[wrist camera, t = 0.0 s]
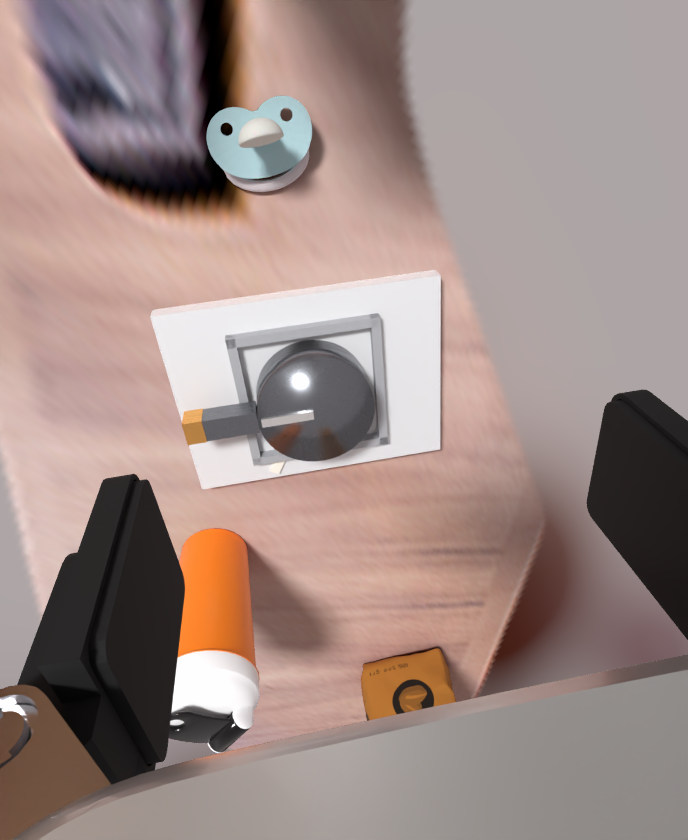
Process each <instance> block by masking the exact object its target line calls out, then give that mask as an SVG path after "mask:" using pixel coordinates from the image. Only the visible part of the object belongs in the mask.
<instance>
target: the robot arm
mask: <svg viewBox="0 0 688 840" xmlns="http://www.w3.org/2000/svg"><path fill="white" fill-rule="evenodd" d="M587 508H588V511H589V514H590V516H591V517H592V519H593V520H594V521H595V523H596V524H597V525H598V527H599V528H600V529H601V530H602V532H603V533H604V534H605V535H606V537H607V538H608V539H609V541H610V542H611V543H612V544H613V545H614V547H615V548H616V549H617V551H618V552H619V553H620V554H621V556H622V557H623V558H624V559H625V561H626V562H627V563H628V565H629V566H630V567H631V568H632V570H633V571H634V572H635V574H636V575H637V576H638V577H639V579H640V580H641V581H642V582H643V584H644V585H645V586H646V588H647V589H648V590H649V591H650V593H651V594H652V595H653V596H654V598H655V599H656V600H657V601H658V603H659V604H660V605H661V606H662V608H663V609H664V610H665V612H666V613H667V614H668V615H669V617H670V618H671V619H672V620H673V622H674V623H675V624H676V626H677V627H678V628H679V629H680V631H681V632H682V633H683V634H684V636H685V637H686V638H687V640H688V421H687V420H686V419H684V418H683V417H682V416H680V415H679V414H678V413H677V412H675V411H674V410H673V409H671V408H670V407H669V406H667V405H666V404H665V403H664V402H662V401H661V400H660V399H658V398H657V397H656V396H655V395H653V394H652V393H651V392H649V391H647V390H638V391H632V392H625V393H619V394H617V395H615V396H614V397H613V398H612V401H611V402H609V403H607V404H606V406H605V409H604V413H603V419H602V424H601V429H600V434H599V440H598V445H597V450H596V455H595V460H594V466H593V471H592V476H591V481H590V487H589V492H588V497H587ZM184 597H185V581H184V576H183V572H182V570H181V567H180V564H179V561H178V559H177V556H176V553H175V550H174V548H173V545H172V542H171V539H170V537H169V534H168V531H167V528H166V526H165V523H164V520H163V518H162V515H161V512H160V509H159V507H158V504H157V501H156V498H155V496H154V493H153V490H152V487H151V485H150V483H149V481H148V480H139V478H138V476H137V475H135V474H131V475H125V476H119V477H113V478H107V479H104V480H103V482H102V484H101V487H100V490H99V493H98V495H97V498H96V501H95V504H94V507H93V510H92V513H91V515H90V518H89V521H88V524H87V527H86V530H85V533H84V536H83V538H82V541H81V544H80V547H79V550H78V553H72V554H69V555H68V556H67V557H66V558H65V560H64V562H63V564H62V566H61V569H60V571H59V574H58V577H57V579H56V582H55V585H54V587H53V590H52V593H51V595H50V598H49V601H48V604H47V606H46V609H45V612H44V614H43V617H42V620H41V622H40V625H39V628H38V630H37V633H36V636H35V638H34V641H33V644H32V647H31V649H30V652H29V655H28V657H27V660H26V663H25V665H24V668H23V671H22V673H21V676H20V679H19V682H18V684H17V685H15V686H8V687H5V688H3V689H0V840H688V655H683V656H678V657H673V658H669V659H664V660H658V661H653V662H649V663H643V664H638V665H634V666H629V667H624V668H619V669H614V670H609V671H604V672H600V673H594V674H589V675H585V676H580V677H575V678H570V679H565V680H560V681H555V682H550V683H545V684H541V685H536V686H531V687H527V688H521V689H516V690H512V691H507V692H502V693H497V694H493V695H488V696H483V697H478V698H473V699H468V700H464V701H459V702H454V703H449V704H444V705H440V706H435V707H430V708H425V709H421V710H416V711H411V712H406V713H402V714H397V715H392V716H388V717H383V718H378V719H374V720H369V721H364V722H360V723H355V724H350V725H345V726H341V727H336V728H331V729H327V730H322V731H317V732H313V733H308V734H303V735H299V736H294V737H289V738H285V739H280V740H276V741H272V742H267V743H263V744H259V745H254V746H250V747H246V748H241V749H237V750H233V751H228V752H224V753H220V754H215V755H211V756H207V757H202V758H198V759H194V760H190V761H186V762H182V763H179V764H175V765H172V766H168V767H165V768H161V769H157V770H155V765H156V763H158V762H163V761H164V760H165V757H166V753H167V747H168V738H169V729H170V720H171V712H172V703H173V694H174V685H175V676H176V668H177V659H178V650H179V641H180V632H181V624H182V615H183V606H184Z"/></svg>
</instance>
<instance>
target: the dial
mask: <svg viewBox="0 0 688 840" xmlns="http://www.w3.org/2000/svg"><path fill="white" fill-rule="evenodd" d="M256 397H257V405H256V401H252V402H246V403H239V404H233V405H227V406H220V407H214V408H208V409H203V408H202V409H196V410H190V411H184V414H183V420H182V427H183V430H184V434H185V437H186V440H187V444H188V445H193V444H199V443H205V442H207V441H212V440H219V439H225V438H231V437H237V436H243V435H249V434H256V433H260V430H261V432H262V435H263V436H264V438H265V439H266V441H267V442H268V443H269V444H270V445H271V446H272V447H273V448H274V449H275V450H277V451H278V452H280V453H281V454H283V455H285V456H287V457H290V458H293V459H296V460H301V461H324V460H328V459H332V458H335V457H338V456H340V455H342V454H345V453H346V452H348V451H350V450H351V449H352V448H354V447H355V446H356V445H357V444H358V443H359V442H360V441H361V440H362V439H363V438H364V437H365V435H366V434H367V432H368V431H369V429H370V427H371V425H372V422H373V418H374V413H375V402H374V396H373V393H372V390H371V388H370V385H369V383H368V380H367V378H366V376H365V373H364V371H363V368H362V366H361V364H360V363H359V361H358V360H357V359H356V358H355V356H354V355H353V354H352V353H350V352H349V351H348V350H347V349H345V348H343V347H342V346H340V345H337V344H335V343H332V342H329V341H323V340H304V341H300V342H296V343H293V344H290V345H288V346H286V347H284V348H282V349H281V350H279V351H278V352H276V353H275V354H274V355H273V356H272V357H271V358H270V359H269V360H268V361H267V362H266V364H265V365H264V367H263V368H262V370H261V372H260V375H259V378H258V381H257V387H256Z"/></svg>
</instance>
